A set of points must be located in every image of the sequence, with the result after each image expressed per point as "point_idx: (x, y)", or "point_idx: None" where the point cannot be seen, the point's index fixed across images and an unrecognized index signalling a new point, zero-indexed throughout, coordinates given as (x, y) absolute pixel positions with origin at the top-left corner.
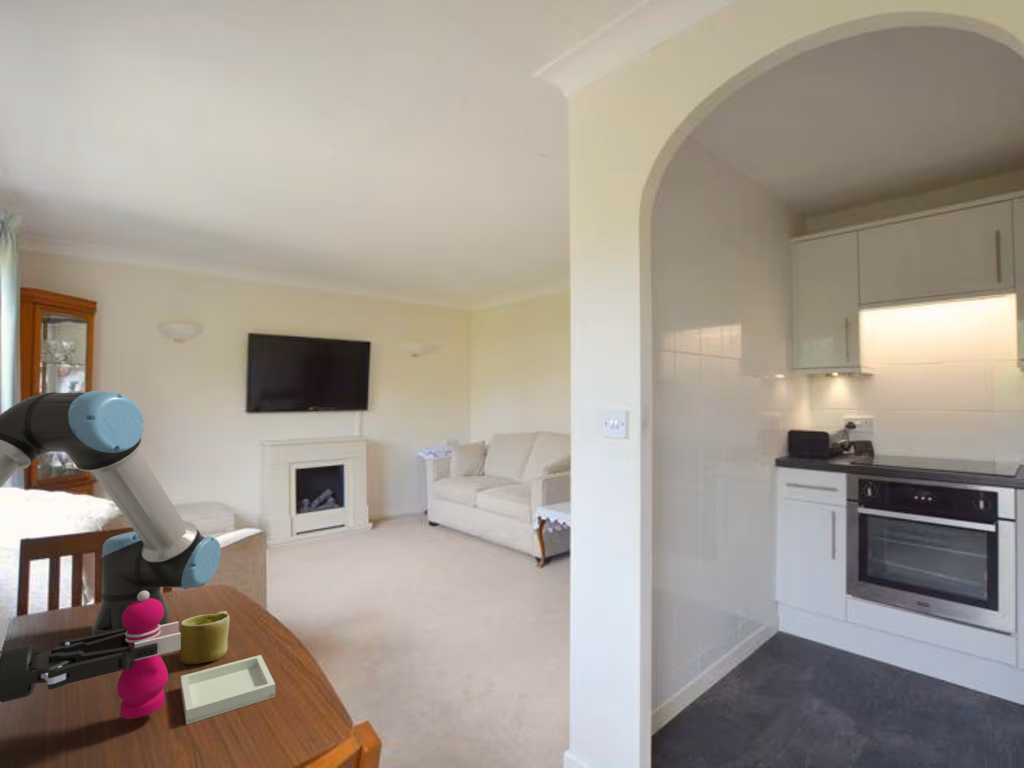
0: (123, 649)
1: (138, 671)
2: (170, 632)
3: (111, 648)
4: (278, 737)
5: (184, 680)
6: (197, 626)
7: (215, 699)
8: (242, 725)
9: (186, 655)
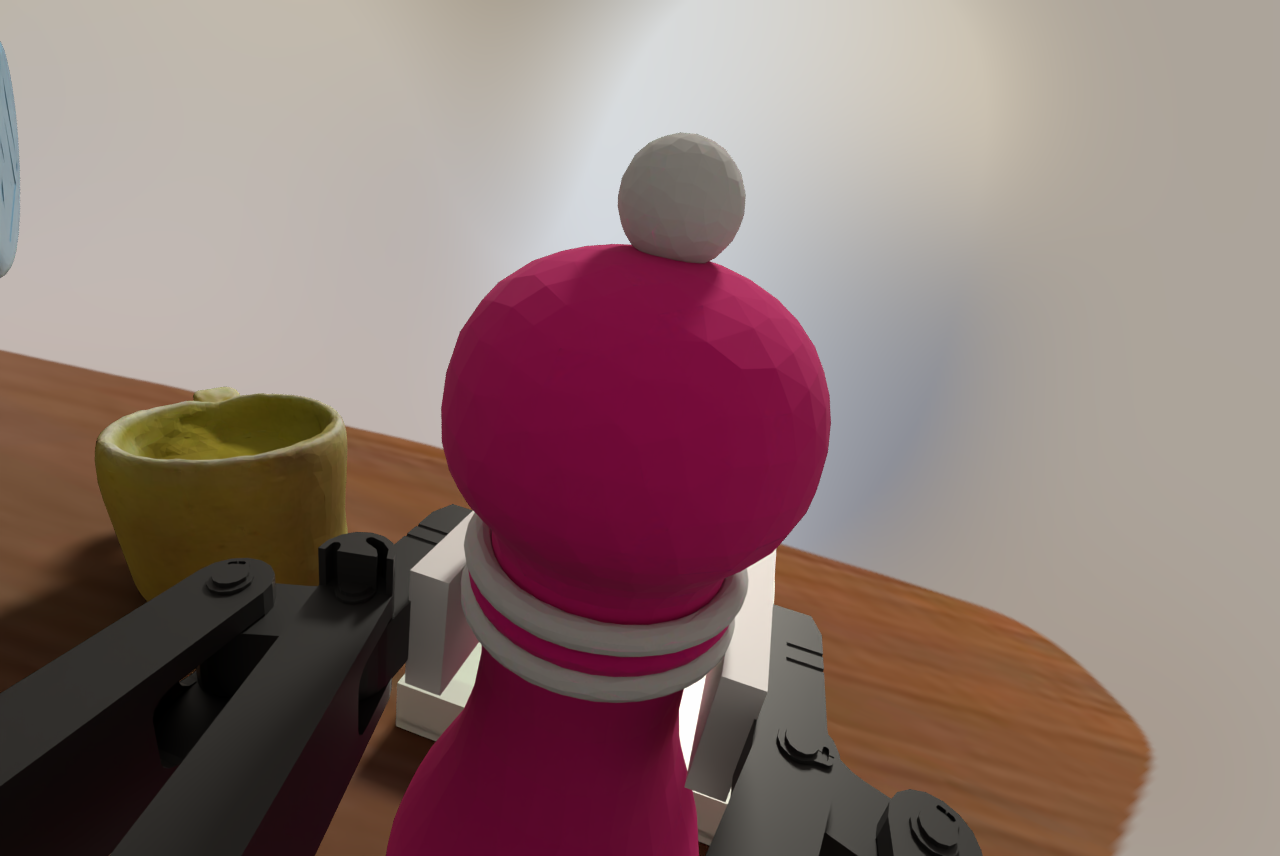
0: (812, 799)
1: (674, 837)
2: None
3: (310, 833)
4: (1014, 718)
5: (460, 694)
6: (279, 457)
7: None
8: (884, 739)
9: None
